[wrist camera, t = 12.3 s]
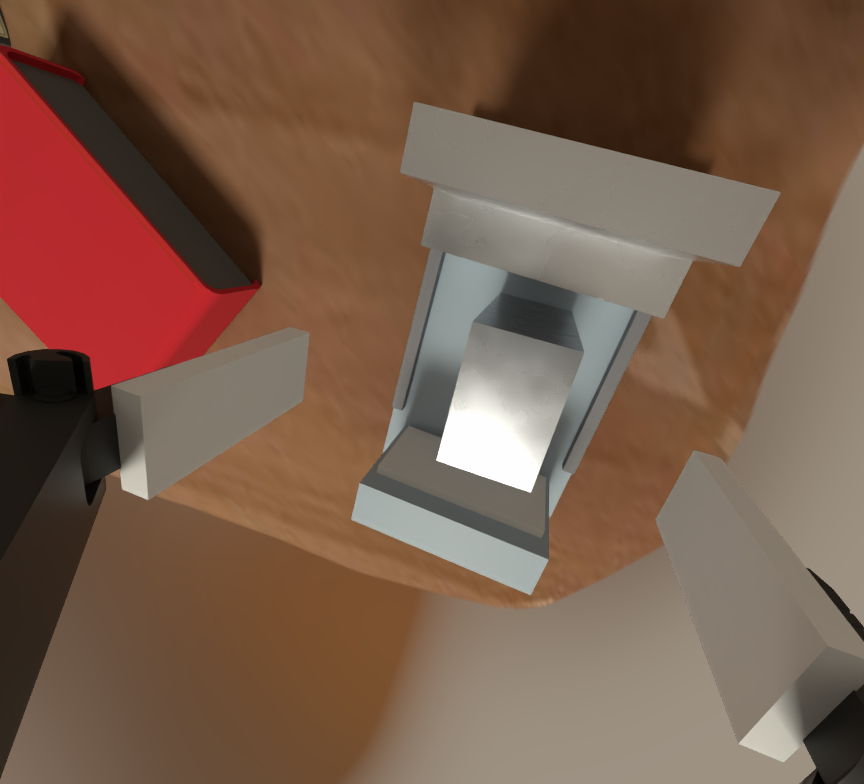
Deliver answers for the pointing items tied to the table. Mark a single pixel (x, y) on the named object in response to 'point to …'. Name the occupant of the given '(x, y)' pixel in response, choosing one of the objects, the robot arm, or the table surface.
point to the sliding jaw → (575, 209)
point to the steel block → (511, 390)
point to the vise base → (428, 411)
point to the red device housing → (100, 234)
